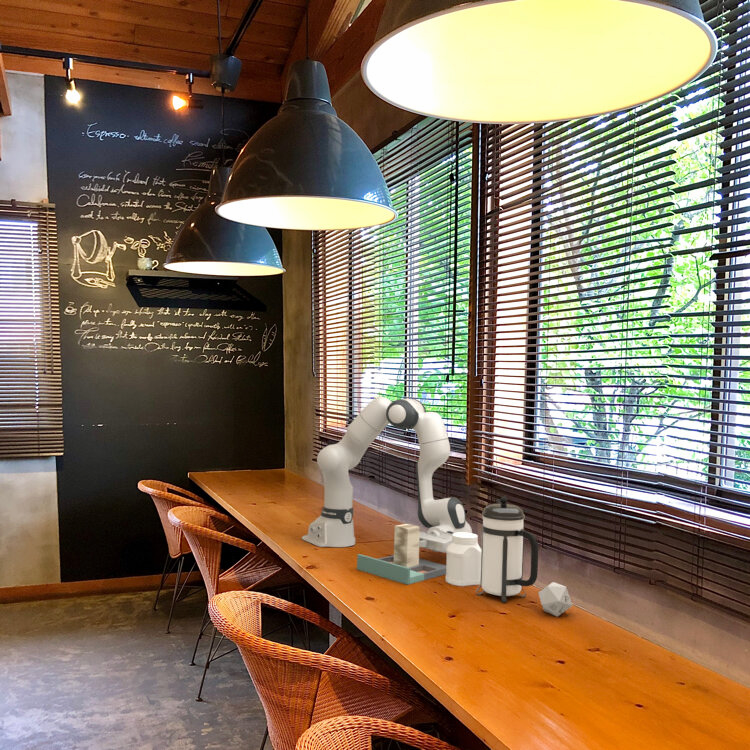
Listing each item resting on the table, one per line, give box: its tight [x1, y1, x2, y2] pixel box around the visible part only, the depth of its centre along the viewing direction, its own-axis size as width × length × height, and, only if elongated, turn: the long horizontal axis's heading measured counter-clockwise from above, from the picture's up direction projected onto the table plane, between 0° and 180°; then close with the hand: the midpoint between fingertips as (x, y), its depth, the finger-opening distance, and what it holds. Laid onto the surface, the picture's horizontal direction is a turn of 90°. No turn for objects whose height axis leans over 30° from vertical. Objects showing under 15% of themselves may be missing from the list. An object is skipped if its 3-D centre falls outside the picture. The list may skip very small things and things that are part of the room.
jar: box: [445, 532, 482, 587], centre depth 226 cm, size 12×10×15 cm
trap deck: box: [356, 553, 446, 586], centre depth 236 cm, size 23×22×5 cm
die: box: [538, 581, 573, 618], centre depth 197 cm, size 8×9×10 cm
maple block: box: [393, 523, 421, 568], centre depth 237 cm, size 6×6×13 cm
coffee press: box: [475, 496, 539, 604], centre depth 211 cm, size 17×16×30 cm
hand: (412, 544), depth 239 cm, fingers closed
